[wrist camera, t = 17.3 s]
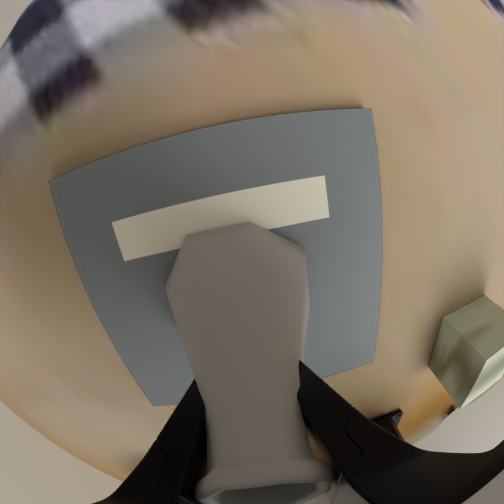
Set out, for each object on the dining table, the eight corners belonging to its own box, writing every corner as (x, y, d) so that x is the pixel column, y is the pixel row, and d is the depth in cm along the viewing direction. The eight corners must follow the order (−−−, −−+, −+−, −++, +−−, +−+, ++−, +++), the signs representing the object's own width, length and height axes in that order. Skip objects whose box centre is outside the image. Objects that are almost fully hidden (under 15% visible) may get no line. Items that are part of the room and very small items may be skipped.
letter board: (369, 355, 17) (373, 361, 17) (154, 399, 17) (153, 406, 16) (365, 109, 11) (371, 108, 11) (55, 179, 11) (48, 181, 10)
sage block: (468, 343, 20) (500, 377, 14) (427, 366, 19) (460, 408, 14) (483, 294, 17) (525, 328, 12) (442, 316, 17) (486, 360, 12)
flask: (166, 340, 14) (137, 513, 5) (168, 211, 12) (43, 398, 2) (292, 348, 15) (343, 507, 6) (325, 230, 13) (476, 387, 3)
